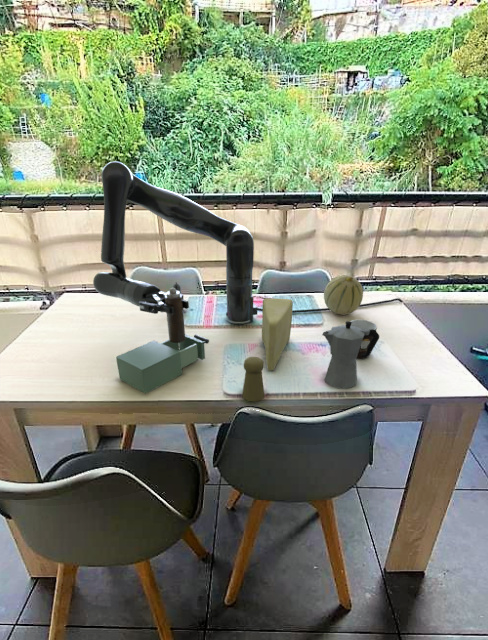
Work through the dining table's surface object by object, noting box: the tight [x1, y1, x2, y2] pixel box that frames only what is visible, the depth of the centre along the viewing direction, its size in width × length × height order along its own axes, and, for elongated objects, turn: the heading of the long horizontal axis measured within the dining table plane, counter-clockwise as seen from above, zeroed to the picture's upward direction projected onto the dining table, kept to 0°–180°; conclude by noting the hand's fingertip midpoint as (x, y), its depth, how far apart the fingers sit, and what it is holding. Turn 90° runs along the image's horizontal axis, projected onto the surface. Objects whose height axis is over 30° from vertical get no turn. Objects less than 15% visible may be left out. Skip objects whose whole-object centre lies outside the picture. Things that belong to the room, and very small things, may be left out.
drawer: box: [160, 333, 210, 369], centre depth 126 cm, size 17×10×6 cm, turn 140°
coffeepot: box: [321, 320, 380, 389], centre depth 114 cm, size 15×9×18 cm, turn 92°
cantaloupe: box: [323, 274, 364, 316], centre depth 158 cm, size 15×15×15 cm
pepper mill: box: [165, 287, 186, 343], centre depth 120 cm, size 5×5×16 cm
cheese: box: [261, 297, 294, 371], centre depth 128 cm, size 22×10×15 cm, turn 172°
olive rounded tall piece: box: [241, 356, 265, 403], centre depth 109 cm, size 6×6×11 cm
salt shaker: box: [172, 281, 186, 314], centre depth 159 cm, size 6×6×12 cm
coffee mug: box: [350, 319, 378, 360], centre depth 130 cm, size 12×9×10 cm
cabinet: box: [115, 340, 183, 394], centre depth 118 cm, size 13×11×7 cm
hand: (180, 308), depth 117 cm, fingers closed on pepper mill, 5 cm apart
